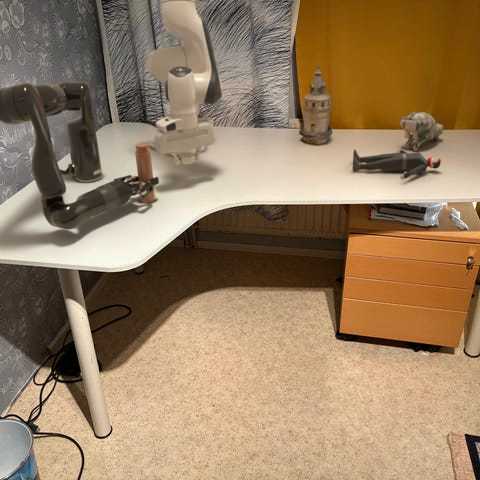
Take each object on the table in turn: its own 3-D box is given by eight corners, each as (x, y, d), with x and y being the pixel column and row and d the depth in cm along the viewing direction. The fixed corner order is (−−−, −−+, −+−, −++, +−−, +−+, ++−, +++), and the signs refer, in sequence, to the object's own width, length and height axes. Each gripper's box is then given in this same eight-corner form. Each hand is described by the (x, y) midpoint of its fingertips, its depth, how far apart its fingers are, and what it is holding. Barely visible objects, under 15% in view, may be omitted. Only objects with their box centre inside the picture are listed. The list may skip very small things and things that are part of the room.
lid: (177, 160, 180) (176, 153, 179) (192, 158, 181) (192, 151, 180) (181, 165, 175) (180, 158, 174) (196, 163, 177) (196, 156, 176)
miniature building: (320, 132, 228) (325, 59, 214) (338, 142, 217) (344, 66, 203) (293, 137, 224) (296, 63, 209) (310, 147, 213) (314, 69, 198)
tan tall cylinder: (154, 202, 171) (149, 147, 162) (139, 203, 170) (133, 147, 161) (155, 196, 175) (150, 142, 166) (141, 196, 174) (135, 142, 165)
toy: (354, 141, 202) (437, 142, 196) (353, 157, 206) (435, 158, 199) (352, 166, 180) (446, 168, 174) (351, 183, 183) (444, 186, 177)
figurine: (429, 162, 206) (454, 135, 215) (417, 119, 197) (443, 93, 206) (407, 162, 213) (432, 135, 222) (394, 121, 204) (421, 95, 213)
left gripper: (124, 190, 154) (167, 172, 165) (93, 178, 162) (135, 162, 173) (127, 213, 158) (169, 194, 169) (96, 201, 165) (138, 183, 177)
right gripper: (208, 113, 179) (210, 153, 185) (151, 123, 170) (155, 164, 177) (217, 117, 174) (219, 158, 180) (158, 128, 165) (162, 170, 172)
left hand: (152, 178), depth 171 cm, fingers closed on tan tall cylinder, 4 cm apart
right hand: (187, 161), depth 178 cm, fingers closed on lid, 5 cm apart
